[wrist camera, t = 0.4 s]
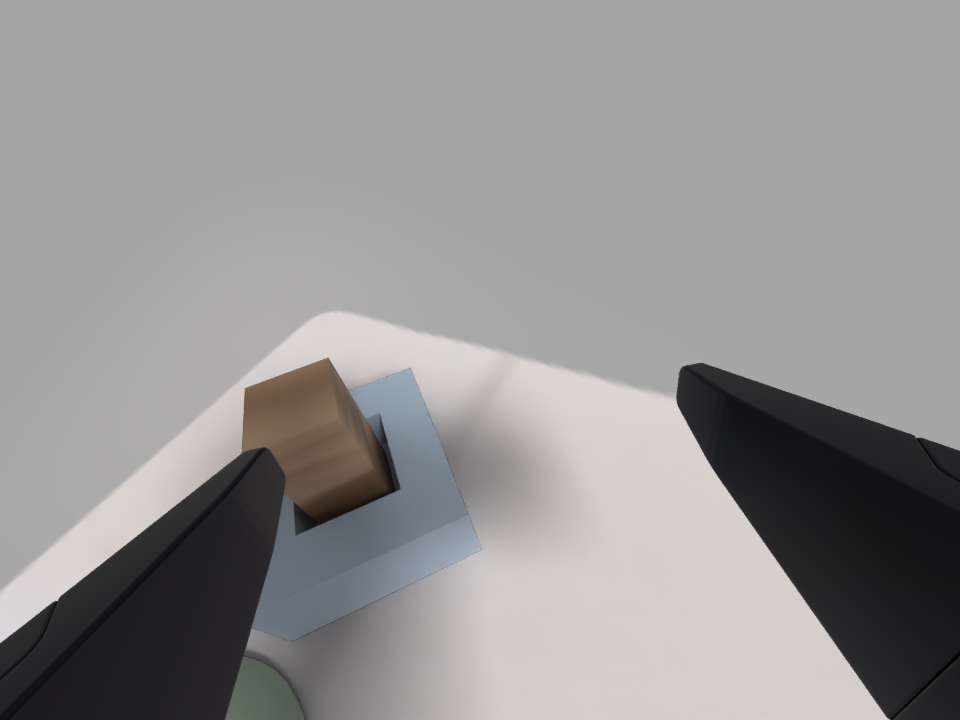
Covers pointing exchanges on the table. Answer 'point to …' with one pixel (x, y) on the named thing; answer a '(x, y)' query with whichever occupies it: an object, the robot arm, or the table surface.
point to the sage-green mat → (262, 695)
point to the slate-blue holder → (370, 525)
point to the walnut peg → (317, 441)
